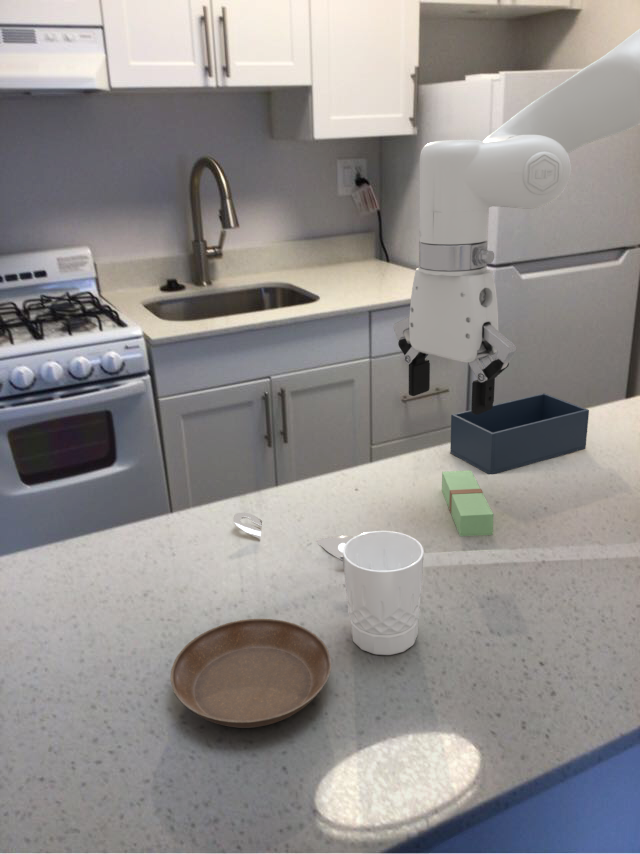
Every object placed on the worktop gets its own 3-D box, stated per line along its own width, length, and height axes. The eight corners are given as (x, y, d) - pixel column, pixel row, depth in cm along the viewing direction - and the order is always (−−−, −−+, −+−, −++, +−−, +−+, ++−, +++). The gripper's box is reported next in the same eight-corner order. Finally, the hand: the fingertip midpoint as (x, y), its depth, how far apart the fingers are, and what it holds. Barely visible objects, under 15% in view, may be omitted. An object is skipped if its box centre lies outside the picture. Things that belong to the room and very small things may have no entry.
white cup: (331, 643, 77) (327, 557, 73) (370, 604, 83) (368, 523, 79) (400, 669, 72) (399, 580, 69) (435, 626, 78) (437, 542, 75)
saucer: (265, 620, 81) (263, 599, 80) (365, 687, 70) (364, 663, 69) (143, 688, 71) (139, 664, 70) (237, 775, 61) (234, 749, 60)
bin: (541, 429, 129) (544, 392, 126) (585, 448, 120) (589, 409, 118) (450, 453, 121) (451, 414, 118) (490, 475, 112) (492, 434, 110)
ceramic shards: (223, 507, 97) (246, 493, 101) (224, 531, 99) (246, 516, 102) (356, 556, 87) (376, 538, 91) (355, 582, 88) (375, 563, 92)
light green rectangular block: (470, 499, 105) (471, 469, 104) (492, 547, 93) (494, 513, 91) (441, 501, 105) (441, 471, 103) (459, 548, 93) (460, 515, 91)
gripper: (538, 260, 81) (529, 410, 87) (417, 247, 93) (416, 380, 99) (495, 269, 76) (488, 428, 82) (374, 255, 89) (376, 394, 95)
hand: (449, 402), depth 91 cm, fingers open, 9 cm apart
